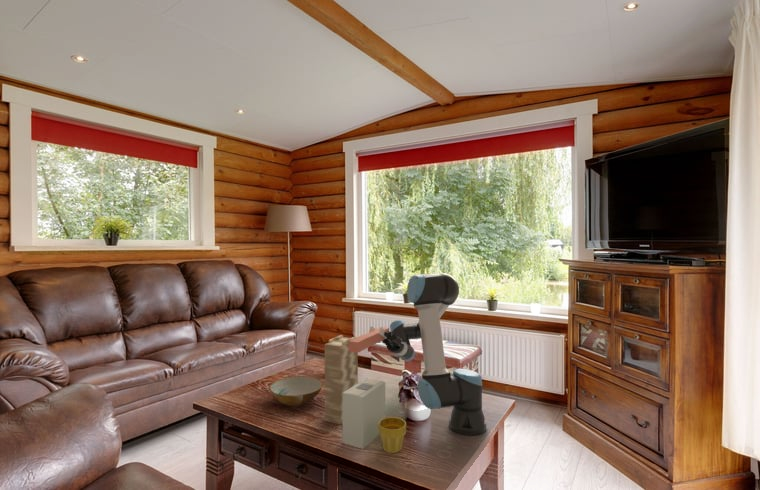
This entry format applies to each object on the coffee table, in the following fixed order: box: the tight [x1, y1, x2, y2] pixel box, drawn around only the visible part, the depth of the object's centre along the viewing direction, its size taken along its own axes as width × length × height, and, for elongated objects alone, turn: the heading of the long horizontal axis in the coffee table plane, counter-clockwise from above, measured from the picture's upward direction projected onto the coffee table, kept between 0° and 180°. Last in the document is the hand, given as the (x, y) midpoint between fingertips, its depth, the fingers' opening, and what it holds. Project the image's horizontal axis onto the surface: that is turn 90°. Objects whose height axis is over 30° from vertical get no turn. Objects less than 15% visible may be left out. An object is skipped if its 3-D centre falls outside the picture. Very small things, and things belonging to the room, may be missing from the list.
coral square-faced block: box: [349, 326, 390, 354], centre depth 164 cm, size 26×4×4 cm, turn 151°
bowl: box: [268, 375, 324, 407], centre depth 193 cm, size 25×25×8 cm
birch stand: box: [323, 334, 359, 426], centre depth 178 cm, size 15×9×34 cm, turn 151°
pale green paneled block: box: [342, 377, 386, 450], centre depth 160 cm, size 18×9×20 cm, turn 151°
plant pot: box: [379, 416, 407, 454], centre depth 150 cm, size 10×10×10 cm
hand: (375, 330), depth 168 cm, fingers closed on coral square-faced block, 4 cm apart
